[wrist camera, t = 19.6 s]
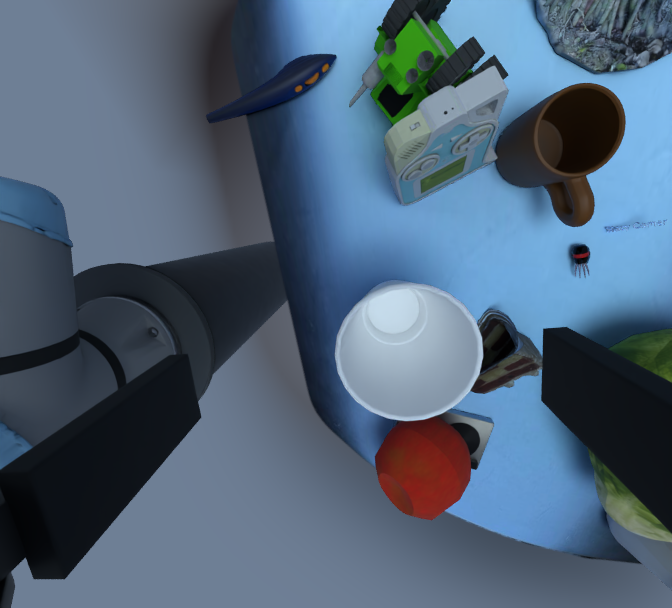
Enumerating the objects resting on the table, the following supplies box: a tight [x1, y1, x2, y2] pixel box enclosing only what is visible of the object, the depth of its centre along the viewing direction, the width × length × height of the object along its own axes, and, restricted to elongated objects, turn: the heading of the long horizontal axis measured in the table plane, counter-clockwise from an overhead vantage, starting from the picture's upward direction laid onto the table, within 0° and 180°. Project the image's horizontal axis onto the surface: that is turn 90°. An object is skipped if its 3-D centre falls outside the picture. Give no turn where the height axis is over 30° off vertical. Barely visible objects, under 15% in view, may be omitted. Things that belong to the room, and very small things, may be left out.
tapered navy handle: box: [206, 54, 337, 123], centre depth 38 cm, size 16×4×2 cm, turn 110°
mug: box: [496, 83, 626, 227], centre depth 34 cm, size 12×8×9 cm, turn 17°
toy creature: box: [572, 220, 667, 278], centre depth 38 cm, size 10×3×2 cm, turn 135°
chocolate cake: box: [470, 310, 543, 394], centre depth 42 cm, size 10×7×12 cm
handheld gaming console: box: [384, 66, 509, 206], centre depth 32 cm, size 11×3×15 cm, turn 118°
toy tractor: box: [349, 0, 508, 126], centre depth 32 cm, size 11×16×10 cm
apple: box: [375, 416, 471, 520], centre depth 41 cm, size 10×10×12 cm
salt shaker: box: [606, 514, 672, 590], centre depth 41 cm, size 6×6×13 cm
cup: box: [335, 280, 483, 421], centre depth 36 cm, size 12×12×16 cm
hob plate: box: [393, 409, 494, 470], centre depth 46 cm, size 12×7×2 cm, turn 77°
